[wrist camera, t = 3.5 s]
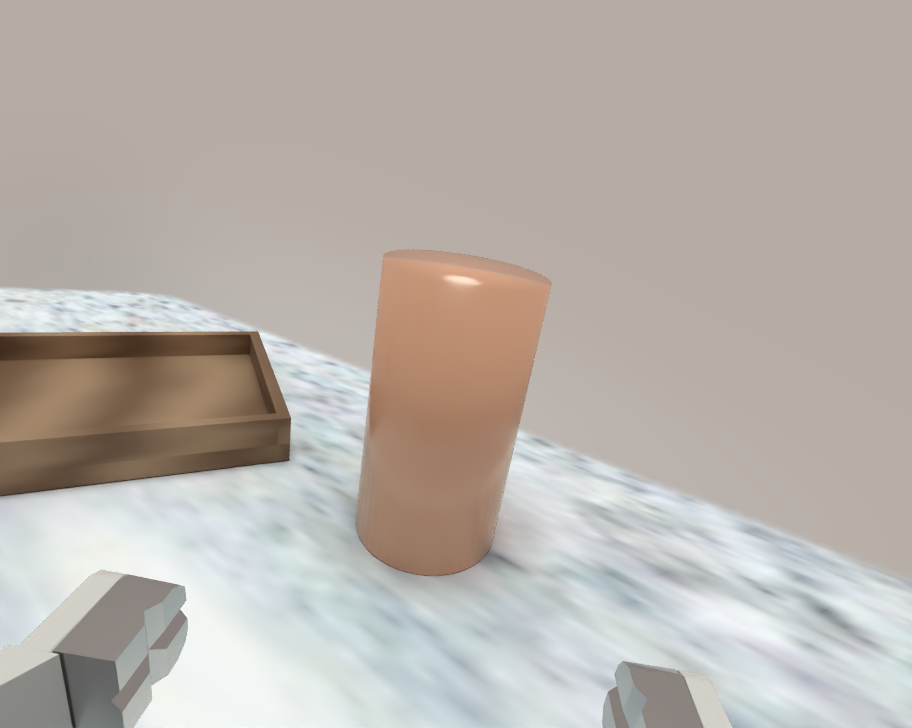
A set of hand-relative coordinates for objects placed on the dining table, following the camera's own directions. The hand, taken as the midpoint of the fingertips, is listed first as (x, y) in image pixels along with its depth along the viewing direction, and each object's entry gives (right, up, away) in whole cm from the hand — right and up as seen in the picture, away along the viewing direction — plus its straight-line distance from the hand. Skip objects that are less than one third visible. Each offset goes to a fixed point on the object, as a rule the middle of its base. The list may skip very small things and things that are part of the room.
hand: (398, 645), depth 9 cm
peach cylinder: (0, -2, +14) cm, 14 cm away
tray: (-18, +2, +18) cm, 25 cm away
